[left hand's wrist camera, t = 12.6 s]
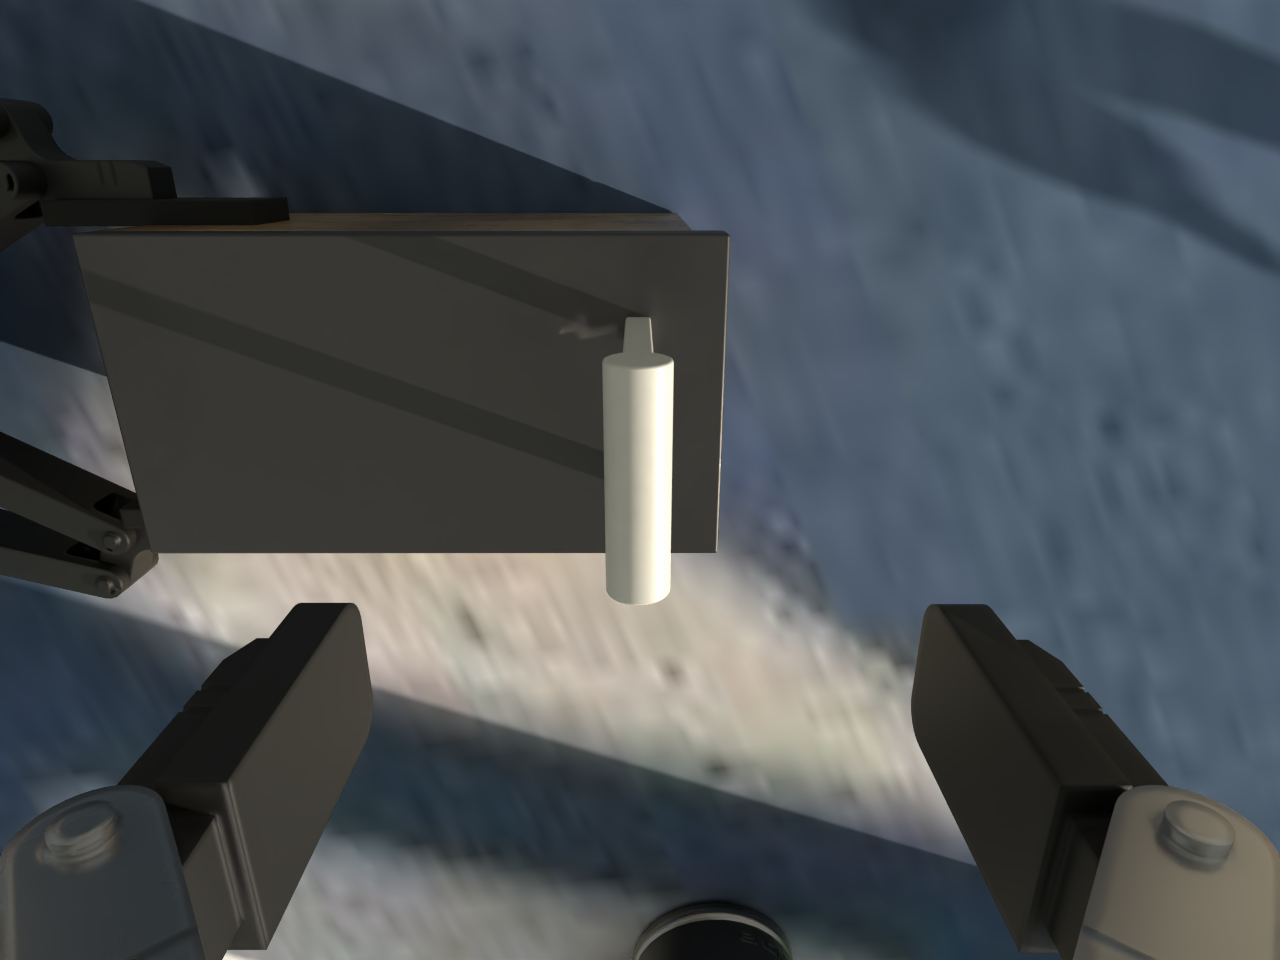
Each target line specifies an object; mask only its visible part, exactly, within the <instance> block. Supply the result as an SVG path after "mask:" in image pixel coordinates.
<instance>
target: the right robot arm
mask: <svg viewBox="0 0 1280 960" xmlns="http://www.w3.org/2000/svg"><path fill="white" fill-rule="evenodd" d="M52 132H53V122H52V119H51V116H50V115H49V113H48V112H47V111H46V109H44V108H43V107H42V106H41V105H39V104H37V103H34V102H29V101H20V100H12V99H3V98H0V252H1V251H2V250H4V249H5V248H7V247H8V246H10V245H11V244H13V243H14V242H16V241H17V240H19V239H20V238H21V237H23V236H24V235H26V234H27V233H29V232H30V231H32V230H33V229H35V228H36V227H38V226H39V225H41V224H42V223H43V222H45V225H46V226H146V225H260V224H267V223H274V222H281V221H288V220H290V217H289V210H288V204H287V198H177V195H176V190H175V185H174V180H173V175H172V170H171V167H169V166H166V165H164V164H161V163H159V162H156V161H139V160H76V159H73V158H71V157H69V156H68V155H66V154H65V153H64V152H63V151H62V150H61V149H60V148H59V147H58V145H57V144H56V142H55V140H54V139H53V137H52V135H51V134H52ZM0 507H2V508H5V509H7V510H9V511H7V510H3V509H0V575H4V576H9V577H13V578H18V579H22V580H27V581H31V582H36V583H40V584H44V585H49V586H53V587H58V588H62V589H67V590H71V591H76V592H80V593H85V594H89V595H94V596H98V597H103V598H115V597H117V596H118V595H120V594H121V593H122V592H123V591H125V590H126V589H127V588H129V587H130V586H131V585H132V584H133V583H135V582H136V581H137V580H138V579H140V578H141V577H142V576H143V575H144V574H146V573H147V572H148V571H149V570H150V569H152V568H153V567H154V566H155V565H156V564H157V563H158V559H159V558H158V553H152V552H151V551H150V547H149V542H148V538H147V534H146V530H145V526H144V522H143V518H142V514H141V510H140V506H139V502H138V498H137V494H136V493H135V492H132V491H130V490H128V489H126V488H124V487H121V486H119V485H117V484H115V483H112V482H110V481H108V480H106V479H104V478H101V477H99V476H97V475H95V474H93V473H90V472H88V471H86V470H84V469H82V468H79V467H77V466H75V465H73V464H71V463H68V462H66V461H64V460H62V459H60V458H57V457H55V456H53V455H51V454H49V453H46V452H44V451H42V450H40V449H38V448H35V447H33V446H31V445H29V444H26V443H24V442H22V441H20V440H18V439H15V438H13V437H11V436H9V435H7V434H4V433H2V432H0Z"/></svg>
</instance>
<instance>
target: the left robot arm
mask: <svg viewBox="0 0 1280 960" xmlns="http://www.w3.org/2000/svg"><path fill="white" fill-rule="evenodd" d="M372 713H373V696H372V688H371V681H370V675H369V668H368V661H367V654H366V647H365V641H364V634H363V627H362V620H361V615H360V612H359V610H358V608H357V606H356V605H355V604H354V603H298V604H297V605H295V606H294V607H293V608H292V610H291V611H290V612H289V614H288V615H287V616H286V617H285V619H284V620H283V621H282V622H281V624H280V625H279V626H278V627H277V629H276V630H275V631H274V632H273V634H272V635H271V636H270V637H269V638H257V639H255V640H253V641H252V642H250V643H249V644H247V645H246V646H244V647H243V648H241V649H240V650H238V651H236V652H235V653H233V654H232V655H230V656H229V657H227V658H226V659H224V660H223V661H222V662H221V663H220V664H219V666H218V667H217V668H216V669H215V670H214V671H213V673H212V674H211V675H210V676H209V677H208V679H207V680H206V681H205V682H204V683H203V684H202V689H201V691H196V693H195V694H194V695H193V696H192V697H191V699H190V700H189V701H188V702H187V703H186V704H185V706H184V710H183V712H179V713H178V714H177V715H176V716H175V717H174V718H173V720H172V721H171V722H170V723H169V724H168V726H167V727H166V728H165V729H164V730H163V731H162V733H161V734H160V735H159V736H158V737H157V738H156V740H155V741H154V742H153V743H152V744H151V746H150V747H149V748H148V749H147V750H146V751H145V753H144V754H143V755H142V756H141V757H140V758H139V760H138V761H137V762H136V763H135V764H134V766H133V767H132V768H131V769H130V770H129V771H128V773H127V774H126V775H125V776H124V777H123V778H122V780H121V781H120V782H119V783H118V784H117V785H116V786H110V787H104V788H100V789H96V790H92V791H89V792H86V793H83V794H80V795H77V796H75V797H72V798H70V799H68V800H65V801H63V802H61V803H59V804H57V805H55V806H53V807H52V808H50V809H48V810H47V811H45V812H43V813H42V814H40V815H39V816H37V817H36V818H35V819H33V820H32V821H31V822H29V823H28V824H27V825H26V826H24V827H23V828H22V829H21V830H20V831H19V832H18V833H17V834H16V835H15V836H14V837H13V838H12V839H11V840H10V842H9V843H8V844H7V846H6V847H5V849H4V850H3V852H2V854H1V855H0V960H222V959H223V957H224V955H225V953H226V951H227V950H267V947H268V945H269V943H270V941H271V939H272V937H273V935H274V933H275V931H276V929H277V927H278V925H279V922H280V920H281V918H282V916H283V914H284V912H285V910H286V908H287V906H288V904H289V902H290V899H291V897H292V895H293V893H294V891H295V889H296V887H297V885H298V883H299V881H300V879H301V877H302V874H303V872H304V870H305V868H306V866H307V864H308V862H309V860H310V858H311V856H312V854H313V851H314V849H315V847H316V845H317V843H318V841H319V839H320V837H321V835H322V833H323V831H324V829H325V826H326V824H327V822H328V820H329V818H330V816H331V814H332V812H333V810H334V808H335V806H336V804H337V801H338V799H339V797H340V795H341V793H342V791H343V789H344V787H345V785H346V783H347V781H348V778H349V776H350V774H351V772H352V770H353V768H354V766H355V764H356V762H357V760H358V758H359V756H360V753H361V751H362V749H363V747H364V745H365V743H366V741H367V738H368V735H369V731H370V727H371V722H372ZM911 714H912V723H913V728H914V732H915V736H916V739H917V742H918V744H919V746H920V748H921V750H922V753H923V755H924V757H925V759H926V761H927V763H928V765H929V767H930V769H931V771H932V773H933V775H934V777H935V779H936V781H937V783H938V786H939V788H940V790H941V792H942V794H943V796H944V798H945V800H946V802H947V804H948V806H949V808H950V810H951V812H952V814H953V816H954V818H955V821H956V823H957V825H958V827H959V829H960V831H961V833H962V835H963V837H964V839H965V841H966V843H967V845H968V847H969V849H970V851H971V854H972V856H973V858H974V860H975V862H976V864H977V866H978V868H979V870H980V872H981V874H982V876H983V878H984V880H985V882H986V884H987V887H988V889H989V891H990V893H991V895H992V897H993V899H994V901H995V903H996V905H997V907H998V909H999V911H1000V913H1001V915H1002V917H1003V919H1004V922H1005V924H1006V926H1007V928H1008V930H1009V932H1010V934H1011V936H1012V938H1013V940H1014V942H1015V944H1016V946H1017V948H1018V950H1019V952H1020V953H1059V954H1060V955H1061V957H1062V959H1063V960H1280V856H1279V854H1278V852H1277V850H1276V849H1275V847H1274V846H1273V844H1272V843H1271V842H1270V840H1269V839H1268V838H1267V837H1266V836H1265V835H1264V834H1263V833H1262V832H1261V831H1260V830H1259V829H1258V828H1257V827H1256V826H1254V825H1253V824H1252V823H1251V822H1249V821H1248V820H1247V819H1245V818H1244V817H1243V816H1241V815H1240V814H1238V813H1237V812H1235V811H1233V810H1232V809H1230V808H1228V807H1227V806H1225V805H1223V804H1221V803H1219V802H1217V801H1215V800H1212V799H1210V798H1208V797H1205V796H1203V795H1200V794H1197V793H1194V792H1191V791H1188V790H1184V789H1180V788H1176V787H1170V786H1168V785H1167V783H1166V782H1165V781H1164V780H1163V779H1162V778H1161V776H1160V775H1159V774H1158V773H1157V772H1156V771H1155V769H1154V768H1153V767H1152V766H1151V765H1150V764H1149V762H1148V761H1147V760H1146V759H1145V758H1144V757H1143V755H1142V754H1141V753H1140V752H1139V751H1138V750H1137V749H1136V747H1135V746H1134V745H1133V744H1132V743H1131V742H1130V740H1129V739H1128V738H1127V737H1126V736H1125V735H1124V733H1123V732H1122V731H1121V730H1120V729H1119V728H1118V726H1117V725H1116V724H1115V723H1114V722H1113V721H1112V719H1111V718H1110V717H1109V716H1108V715H1107V714H1103V712H1102V708H1101V707H1100V705H1099V704H1098V703H1097V702H1096V701H1095V700H1094V698H1093V697H1092V696H1091V695H1090V694H1089V693H1088V692H1084V687H1083V686H1082V684H1081V683H1080V682H1079V681H1078V680H1077V679H1076V677H1075V676H1074V675H1073V674H1072V673H1071V672H1070V670H1069V669H1068V668H1067V667H1066V666H1065V665H1064V663H1063V662H1062V661H1060V660H1059V659H1057V658H1055V657H1054V656H1052V655H1051V654H1049V653H1048V652H1046V651H1045V650H1043V649H1042V648H1040V647H1038V646H1037V645H1035V644H1034V643H1032V642H1031V641H1029V640H1016V639H1015V638H1014V636H1013V635H1012V634H1011V633H1010V631H1009V630H1008V629H1007V628H1006V626H1005V625H1004V624H1003V623H1002V621H1001V620H1000V619H999V618H998V616H997V615H996V614H995V613H994V611H993V610H992V609H991V608H990V607H989V606H987V605H984V604H932V605H930V606H929V607H928V608H927V610H926V612H925V614H924V618H923V624H922V630H921V637H920V644H919V650H918V657H917V664H916V670H915V677H914V684H913V690H912V698H911ZM633 960H793V959H792V954H791V949H790V945H789V942H788V940H787V938H786V936H785V935H784V933H783V932H782V931H781V929H780V928H779V927H778V926H777V925H776V924H775V923H774V922H772V921H771V920H770V919H768V918H767V917H765V916H764V915H762V914H760V913H758V912H756V911H753V910H751V909H748V908H745V907H741V906H737V905H731V904H722V903H708V904H698V905H693V906H688V907H684V908H681V909H678V910H676V911H673V912H671V913H669V914H667V915H665V916H663V917H661V918H660V919H658V920H657V921H656V922H654V923H653V924H652V925H651V926H649V927H648V929H647V930H646V931H645V932H644V933H643V934H642V936H641V937H640V939H639V940H638V942H637V945H636V947H635V950H634V954H633Z"/></svg>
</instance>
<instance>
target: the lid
mask: <svg viewBox="0 0 1280 960" xmlns="http://www.w3.org/2000/svg"><path fill="white" fill-rule="evenodd" d="M72 238H73V242H74V246H75V250H76V254H77V258H78V262H79V266H80V270H81V274H82V278H83V282H84V286H85V290H86V294H87V298H88V302H89V306H90V310H91V314H92V318H93V322H94V326H95V330H96V334H97V338H98V342H99V346H100V350H101V354H102V358H103V362H104V366H105V370H106V374H107V378H108V382H109V386H110V390H111V394H112V398H113V402H114V406H115V410H116V414H117V418H118V422H119V426H120V430H121V434H122V438H123V442H124V446H125V450H126V454H127V458H128V462H129V466H130V470H131V474H132V478H133V482H134V486H135V490H136V494H137V498H138V502H139V506H140V510H141V514H142V518H143V522H144V526H145V530H146V534H147V538H148V542H149V547H150V551H151V552H152V553H606V590H607V593H608V594H609V596H610V597H611V598H613V599H614V600H616V601H618V602H621V603H624V604H629V605H647V604H652V603H655V602H658V601H660V600H662V599H664V598H665V597H666V596H667V595H668V593H669V591H670V566H671V553H716V552H717V550H718V530H719V505H720V480H721V455H722V430H723V405H724V380H725V355H726V330H727V305H728V280H729V255H730V235H729V234H728V233H726V232H725V231H92V232H83V233H75V234H73V235H72Z"/></svg>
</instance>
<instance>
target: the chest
mask: <svg viewBox="0 0 1280 960" xmlns="http://www.w3.org/2000/svg"><path fill="white" fill-rule="evenodd" d="M289 217H290V220H288V221H281V222H274V223H267V224H260V225H146V226H137V227H128V228H119V229H110V230H104V231H693V230H692V229H691V228H690V227H689V226H688V225H687V224H686V223H685V222H684V220H683V219H682V218H681V217H680V216H679V215H678V214H677V213H289Z"/></svg>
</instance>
